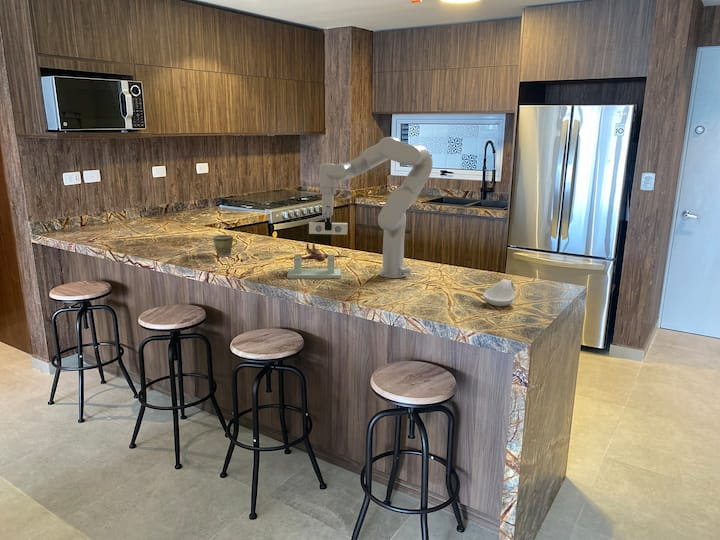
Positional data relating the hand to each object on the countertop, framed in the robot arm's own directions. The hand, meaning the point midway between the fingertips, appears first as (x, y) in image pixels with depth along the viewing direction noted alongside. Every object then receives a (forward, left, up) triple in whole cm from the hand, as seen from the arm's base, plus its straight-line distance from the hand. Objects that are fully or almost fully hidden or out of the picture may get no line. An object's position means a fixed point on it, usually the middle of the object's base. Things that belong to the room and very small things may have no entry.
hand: (328, 229), depth 258 cm
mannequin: (+20, -22, -20) cm, 35 cm away
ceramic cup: (+59, +4, -19) cm, 62 cm away
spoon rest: (-85, +9, -19) cm, 88 cm away
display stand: (-1, +14, -19) cm, 24 cm away
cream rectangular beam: (0, 0, -2) cm, 2 cm away
